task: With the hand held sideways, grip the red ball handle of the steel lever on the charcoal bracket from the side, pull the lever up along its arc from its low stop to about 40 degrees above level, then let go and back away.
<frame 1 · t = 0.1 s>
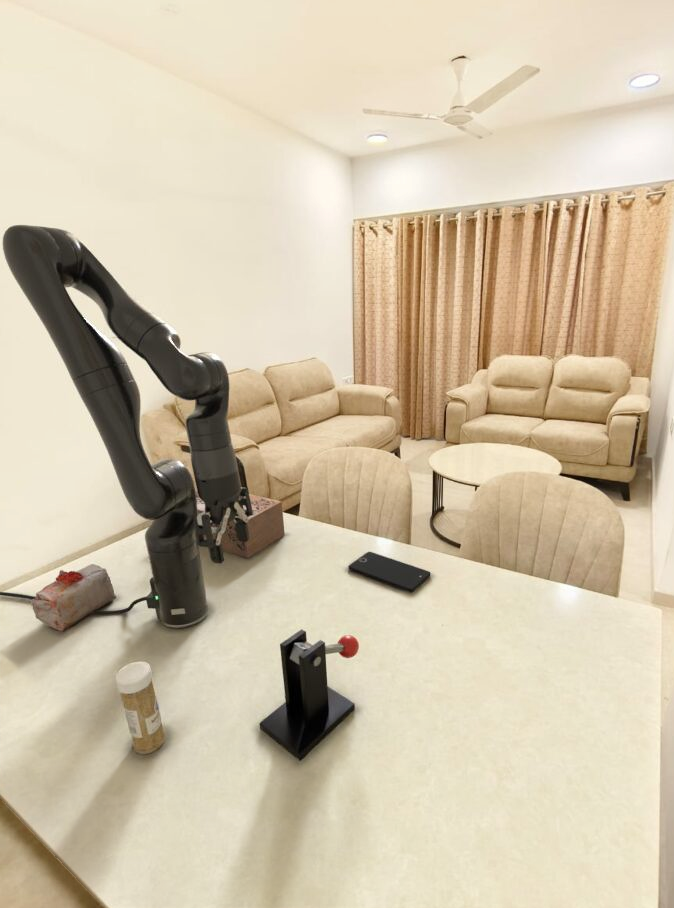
hand: (231, 551, 94), 17 cm above the table, tool pointing down, fingers open, 8 cm apart
lever: (327, 649, 78), point 10 cm above the table, hinge at -28.0°
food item: (79, 613, 105), on the table
bracket: (308, 719, 79), on the table
sprinkles bottle: (150, 743, 75), on the table
tissue box cover: (231, 535, 137), on the table
cell phone: (388, 573, 118), on the table
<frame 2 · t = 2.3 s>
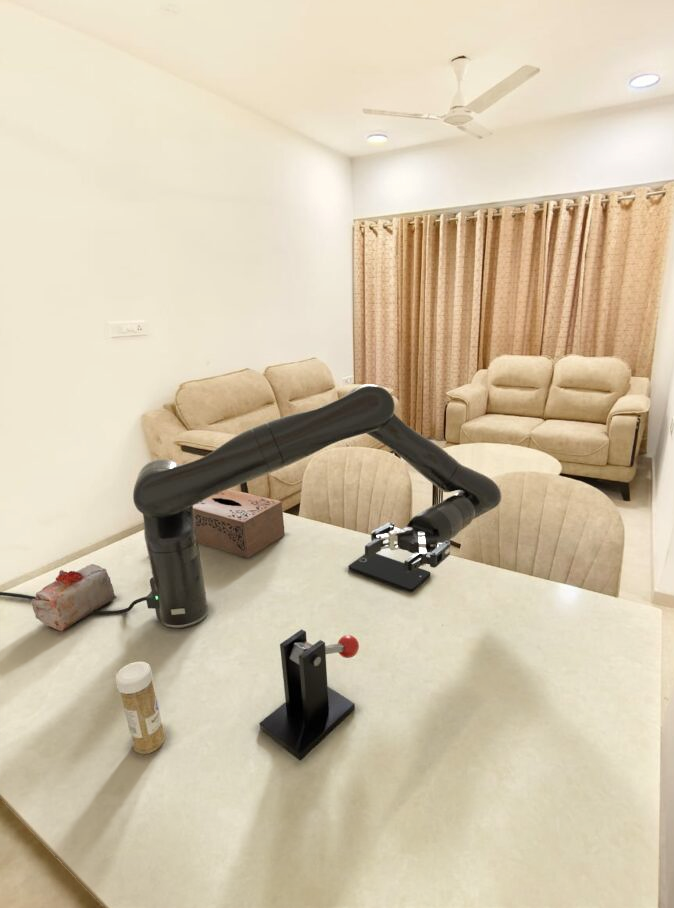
hand: (385, 559, 86), 20 cm above the table, tool horizontal, fingers open, 8 cm apart
nothing on the table moved.
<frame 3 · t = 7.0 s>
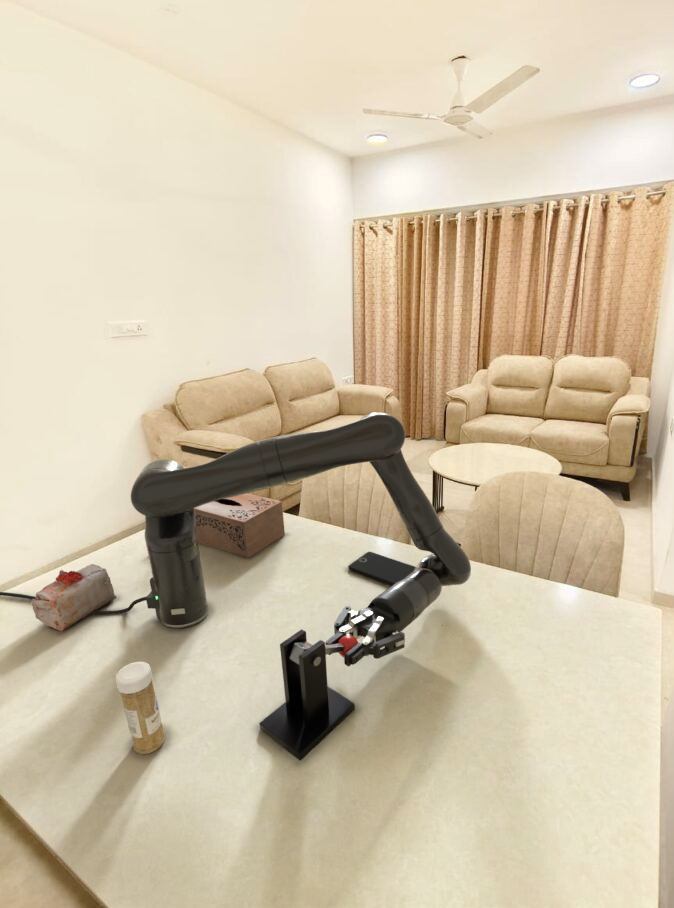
hand: (336, 655, 81), 8 cm above the table, tool horizontal, fingers closed on lever, 3 cm apart
lever: (327, 649, 78), point 10 cm above the table, hinge at -28.0°, touching gripper
everything else where it was.
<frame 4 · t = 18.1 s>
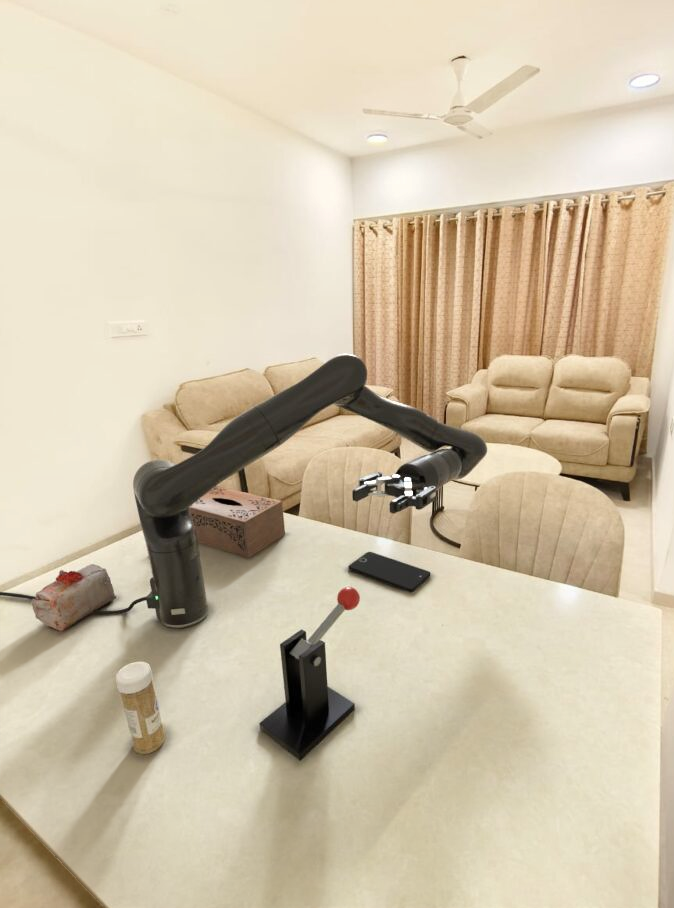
hand: (372, 502, 88), 28 cm above the table, tool horizontal, fingers open, 8 cm apart
lever: (327, 623, 77), point 15 cm above the table, hinge at 21.2°
everything else where it was.
at the end: lever at +21° (first picture: -28°); the gripper is holding nothing; sprinkles bottle moved 0.2 cm from its start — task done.
